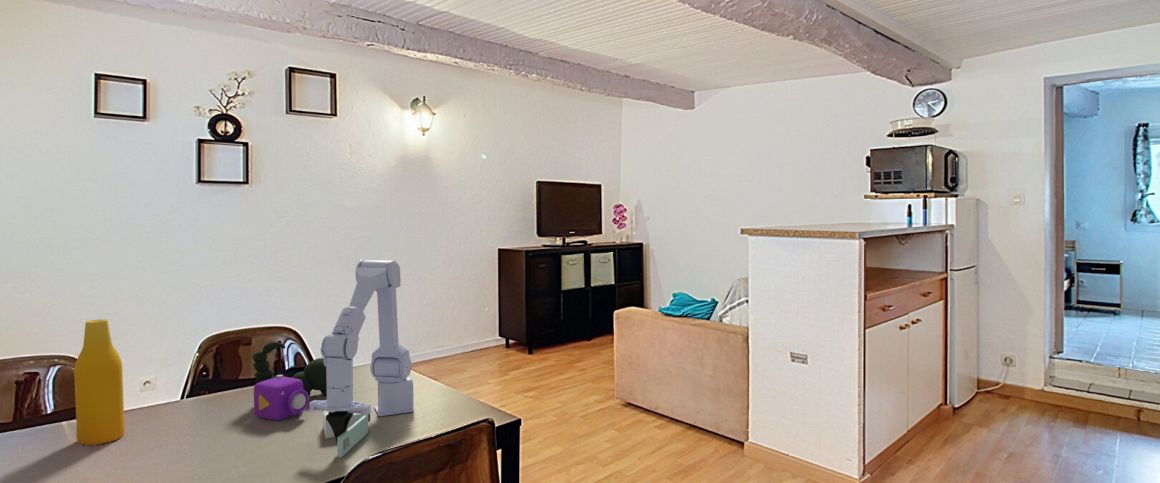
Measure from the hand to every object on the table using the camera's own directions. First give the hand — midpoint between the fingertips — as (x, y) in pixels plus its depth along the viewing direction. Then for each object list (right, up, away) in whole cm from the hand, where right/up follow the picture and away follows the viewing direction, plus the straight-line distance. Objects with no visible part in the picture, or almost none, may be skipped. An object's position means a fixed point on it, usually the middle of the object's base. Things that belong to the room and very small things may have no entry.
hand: (340, 442), depth 144 cm
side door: (+2, -2, +4) cm, 5 cm away
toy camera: (-24, -1, +23) cm, 34 cm away
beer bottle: (-60, -1, +6) cm, 61 cm away
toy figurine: (-26, 0, +38) cm, 46 cm away
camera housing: (-4, -1, +13) cm, 14 cm away
